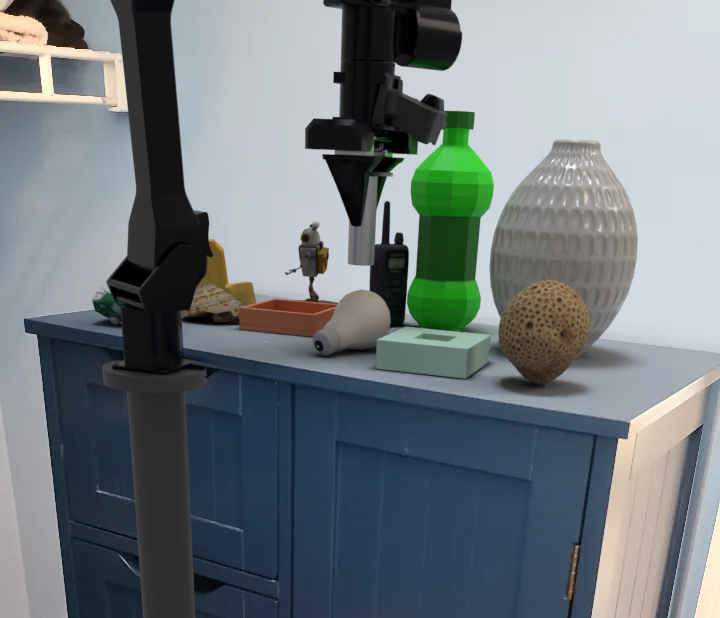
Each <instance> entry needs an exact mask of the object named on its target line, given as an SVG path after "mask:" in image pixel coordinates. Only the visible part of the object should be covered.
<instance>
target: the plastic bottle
mask: <svg viewBox="0 0 720 618" xmlns="http://www.w3.org/2000/svg"><path fill="white" fill-rule="evenodd" d="M444 112H445V113H447V114H448V115H447V117H446V122H447V127H446V128H445V129H444V130H442V131H443V132H442V143H441V144H440V145H439V146H438V147H436V149H434V150H433V151H432V152H431V153H430V154H429V155H428V156H427V157H426V158H425V159H424V160H423V161H422V162H421V163H420V164H419V165H418V166H416V168H415V170H414V171H413V172H414V173H413V175H412V178H411V180H410V198H411V205H412V207H413V208H414V210H415V211H416V212H417V214H418V217H419V218H418V231H417V249H416V267H415V276H414V278H413V279H412V281H411V284H410V286H409V288H408V290H407V297H406V307H407V308H408V312H409V314H410V316H411V317H412V319H413V320H414V321H415V322H416V323H417V325H418V326H420V327H421V328H425V329H435V330H445V331H455V332H462V329H465V328H466V327H467V326H468V325H470V324H471V323H472V322H473V320H475V318H476V317H477V316H478V313H479V310H480V309H481V302H482V301H481V300H482V296H481V292H480V288H479V285H478V282H477V280H476V279H477V278H476V275H477V266H478V265H477V264H478V254H479V253H478V251H479V241H480V232H481V231H480V230H481V219H482V217H483V216H484V215H485V214H486V213H487V212H488V211H489V210H490V208H491V205H492V202H493V197H494V189H495V188H494V187H495V184H494V179H493V174H492V171H491V170H490V169H489V167H488V166H487V165H486V164H485V162H484V161H483V159H482V158H481V157H480V156H479V155H478V154H477V153H476V152H475V150H474V149H473V148H472V147H471V146H470V145H469V137H470V131H473V130H474V128H475V117H476V112H474V111H468V110H467V111H465V110H444Z"/></svg>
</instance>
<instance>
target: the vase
mask: <svg viewBox="0 0 720 618" xmlns="http://www.w3.org/2000/svg"><path fill="white" fill-rule="evenodd" d="M638 240H639V239H638V230H637V222H636V218H635V213H634V208H633V206H632V202H631V199H630V197H629V196H628V193H627V191H626V190H625V188H624V186H623V184H622V183H621V181H620V179H619V178H618V176H617V175H616V174H615V172H614V171H613V169H612V168H611V166H610V165H609V163H608V162H607V161H606V159H605V158H604V156H603V154H602V150H601V142H600V141H598V140H592V139H591V140H587V139H562V138H561V139H555V140H554V141H553V142H552V146H551V149H550V151H549V152H548V154H547V155H546V156H545V157H544V158H543V159H542V160H540V162H539V163H538V164H537V165H536V166H535V167H534V168H533V169H532V170H531V171H530V172H529V173H528V174H527V175H526V176H525V177H524V178H523V179H522V180H521V181H520V182H519V183H518V185H517V186H516V188H515V189H514V190H513V191H512V192H511V195H510V196H509V198H508V200H507V201H506V203H505V205H504V206H503V208H502V211H501V213H500V216H499V218H498V220H497V224H496V226H495V229H494V231H493V237H492V241H491V247H490V256H489V266H488V267H489V284H490V288H491V289H490V290H491V295H492V300H493V304H494V307H495V308H496V310H497V313H498V316H499V318H500V319H501V317H502V315H503V312H504V309H505V307H506V305H507V304H508V303H509V301H510V300H511V299H512V298H513V297H514V296H515V295H516V294H518V293H519V292H520V291H521V290H523V289H524V288H526V287H528V286H529V285H531V284H533V283H536V282H538V281H542V280H555V281H559V282H562V283H563V284H565V285H567V286H569V287H571V288H573V289H574V290H575V291H576V292H577V293H578V294H579V295H580V296H581V298H582V299H583V300H584V302H585V303H586V305H587V307H588V310H589V313H590V319H591V328H590V333H589V336H588V339H587V341H586V344H585V346H584V348H583V349H582V351H581V352H580V354H579V355H578V357H580V356H581V355H582V354H583V353H585V352H586V351H587V350H588V349H590V347H591V346H593V345H594V344H595V343H596V342H597V341H598V340H599V339H600V338H601V337H602V335H603V334H604V333H605V332H606V331H607V329H608V328H609V327H610V326H611V324H613V322H614V320H615V319H616V318H617V316H618V315H619V313H620V312H621V309H622V307H623V306H624V303H625V301H626V299H627V297H628V295H629V292H630V289H631V286H632V283H633V279H634V276H635V271H636V264H637V260H638V259H637V258H638V242H639V241H638Z"/></svg>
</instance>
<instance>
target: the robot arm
mask: <svg viewBox="0 0 720 618" xmlns="http://www.w3.org/2000/svg"><path fill="white" fill-rule="evenodd" d="M109 1H110V3H111V5H112V8H113V10H114V13H115V14H116V18H117V22H118V29H119V39H120V48H121V59H122V66H123V67H122V68H123V77H124V84H125V85H124V87H125V95H126V105H127V114H128V115H127V116H128V123H129V133H130V143H131V152H132V161H133V173H134V181H135V196H134V199H133V203H132V207H131V211H130V215H129V219H128V223H127V224H128V225H127V245H126V247H127V250H126V256H125V258H123V259H122V261H121V262H120V263H119V265H118V266H117V267H116V268H115V269H114V270H113V272H112V273H111V274H110V275H109V277H107V279H106V285H107V288H108V290H109V291H108V292H109V293H111V296H112V298H113V300H114V301H116V302H122V303H125V304H123V305H122V307H121V308H120V309H121V322H120V323H121V333H122V350H123V359H124V360H123V361H120V362H117V363H113V364H112V369H117V370H125V371H133V372H141V373H149V374H158V375H169V374H172V373H175V372H177V371H180V370H183V369H186V368H189V367H192V366H196V365H193V363H195V362H197V360H195V359H187V358H184V336H183V318H182V317H181V314H182V313H181V311H186V310H190V308H191V304H192V301H193V297H194V293H195V290H196V286H198V284H199V283H200V281H201V280H202V279H203V278H204V277H205V275H206V272H207V262H208V260H207V257H213V253H212V251H211V248H210V244H209V239H210V237H209V236H210V234H209V233H210V218H209V213H208V212H207V211H203V210H195V209H194V208H193V206H192V204H191V201H190V199H189V197H188V195H187V192H186V187H185V175H184V174H185V173H184V163H183V162H184V161H183V151H182V149H183V148H182V137H181V127H180V113H179V103H178V91H177V78H176V67H175V66H176V65H175V55H174V45H173V44H174V42H173V31H172V14H173V8H174V5H175V1H176V0H109ZM452 1H453V0H322V4H323V6H324V7H325V8H332V9H339V10H341V34H340V36H341V37H340V69H339V70H340V71H333V77H332V79H333V81H332V83H333V84H337V85H339V108H338V109H339V110H338V113H339V114H338V116H332V117H331V118H312V119H311V121H310V122H309V123H308V124H307V126H306V127H305V128H304V149H305V150H318V151H320V150H324V151H334V154H330V153H329V154H328V153H322V155H321V156H322V160H325V163H326V165H327V167H328V170H329V172H330V174H331V177H332V179H333V182H334V184H335V186H336V189H337V192H338V194H339V197H340V199H341V201H342V205H343V208H344V210H345V213H346V215H347V218H348V222H349V221H350V223H351V225H352V226H355V227H360V226H361V225H362V221H363V216H364V210H365V204H366V197H367V190H368V184H369V176H370V173H371V172H392V171H393V170H394V169H395V168H396V167H397V166H398V165H399V164H402V163H403V162H404V160H405V157H393V156H394V155H411V156H413V155H415V156H418V152H419V151H418V148H419V143H421V144H424V145H429V144H431V145H433V146H436V145H437V142H438V140H439V137H440V135H441V132H442V131H443V130H444V129H445V128H446V127H447V122H446V117H447V115H448V114H447V113H445V112H444V111H445V100H444V99H443V98H440V97H439V96H437V95H435V94H433V93H432V94H431V93H426V94H425V96H424V97H422V99H420V100H419V99H418V98H416V97H412V96H410V95H408V94H406V93H403V92H404V82H403V79H401V78H402V76H399V75H396V65H397V66H399V67H401V68H402V67H403V68H411V69H412V68H413V69H420V70H421V69H422V70H431V71H439V72H444V71H445V72H446V71H447V70H449V69H450V68H451V67H453V65H454V64H455V63H456V61H457V59H458V57H459V54H460V51H461V48H462V43H463V32H462V31H461V24H460V21H459V17H458V16H457V14H456V12H454V11H453V9H452ZM387 179H388V177H387V176H378V185H377V208H376V211H378V207H379V204H380V200H381V196H382V194H383V190H384V187H385V184H386V181H387Z"/></svg>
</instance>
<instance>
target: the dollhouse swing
mask: <svg viewBox="0 0 720 618" xmlns="http://www.w3.org/2000/svg"><path fill="white" fill-rule="evenodd" d="M209 244H210V248H211V251H212V253H213V257H207V260H208V262H207V272H206V275H205V277H204V278H203V279H202V280H201V281H200V283H199V284H198V286H196V289H197V288H198V287H200V285H201V284H202V283H204V282H207V283H210V284H212V285H215V286H217V287H219V288H221V289H223V290H224V292H227V293H229V294H230V295H231V296H232V297H233V298H234V299H236V300H238V301H239V302H241V303H242V305H244V306H247V305H251V304H255V303H257V298H256V293H255V289H254V284H253V282H251V281H240V282H234V283H233V282H232V283H229V277H228V270H227V264H226V256H225V249H224V248H223V246H222V245H220V243H219V242H217V241H216V240H215V239H214V238H213V239H212V238H209Z"/></svg>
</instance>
